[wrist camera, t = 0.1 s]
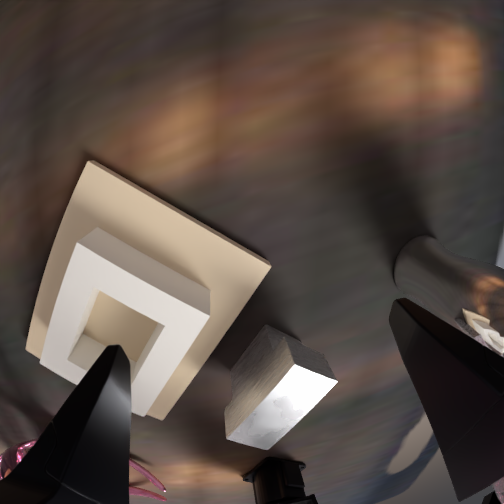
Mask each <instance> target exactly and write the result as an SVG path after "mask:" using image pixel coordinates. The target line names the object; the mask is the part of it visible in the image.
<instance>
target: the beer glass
mask: <svg viewBox="0 0 504 504" xmlns="http://www.w3.org/2000/svg"><path fill="white" fill-rule="evenodd" d="M394 279H395V283H396V285H397V287H398V288H399V290H400V291H401V292H403V293H404V294H406V295H408V296H410V297H412V298H414V299H416V300H418V301H420V302H421V303H422V304H423V305H424V306H425V307H426V308H427V309H428V310H429V311H430V313H432V314H434V315H435V316H437V317H439V318H440V319H442V320H444V321H445V322H447V323H449V324H450V325H452V326H454V327H455V328H457V329H459V330H460V331H462V332H463V333H465V334H467V335H468V336H470V337H471V338H473V339H475V340H476V341H478V342H479V343H481V344H482V345H483V346H486V347H488V348H489V349H491V350H492V351H494V352H496V353H497V354H499V355H501V356H502V357H504V269H503V268H501V267H499V266H496V265H493V264H490V263H487V262H483V261H480V260H476V259H472V258H468V257H464V256H461V255H457V254H455V253H453V252H451V251H449V250H448V249H447V248H446V247H444V246H443V245H442V244H441V243H440V242H439V241H438V240H436V239H435V238H433V237H431V236H427V235H422V236H418V237H415V238H413V239H412V240H410V241H409V242H408V243H407V244H406V245H405V246H404V247H403V248H402V250H401V251H400V253H399V255H398V257H397V259H396V262H395V266H394Z"/></svg>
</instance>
